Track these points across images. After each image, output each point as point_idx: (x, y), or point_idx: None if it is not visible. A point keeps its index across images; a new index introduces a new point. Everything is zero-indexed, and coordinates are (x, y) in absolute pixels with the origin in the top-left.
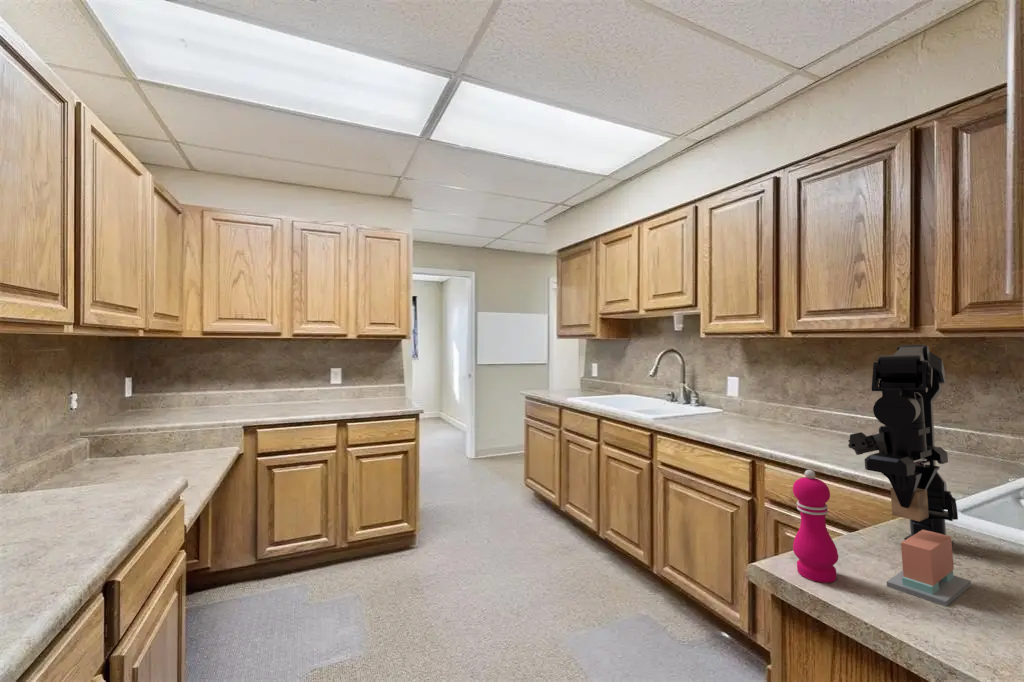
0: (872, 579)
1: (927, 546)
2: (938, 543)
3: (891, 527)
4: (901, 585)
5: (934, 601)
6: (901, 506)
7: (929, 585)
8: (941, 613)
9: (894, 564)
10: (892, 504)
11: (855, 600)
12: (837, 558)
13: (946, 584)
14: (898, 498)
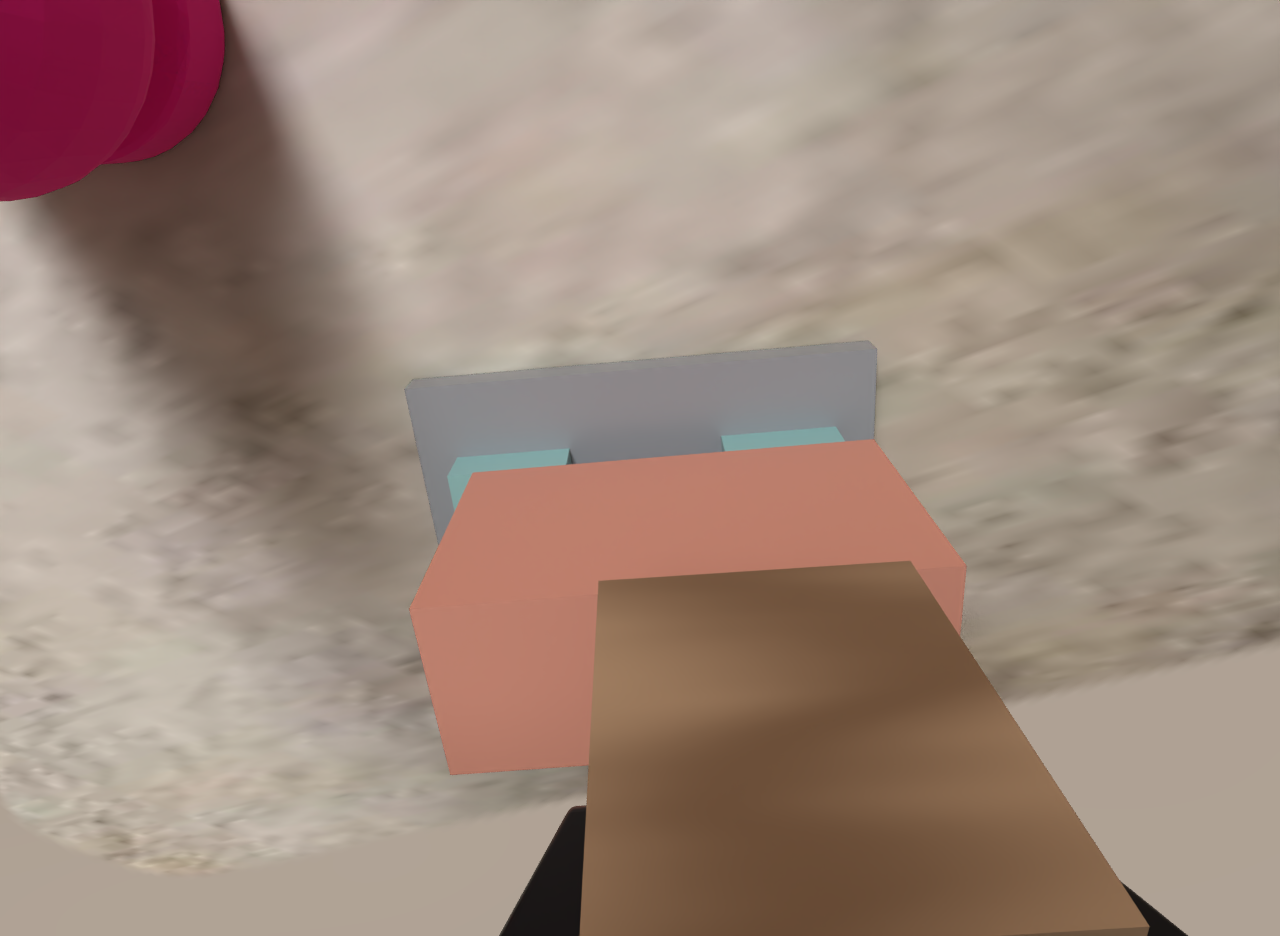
0: (423, 283)
1: (518, 739)
2: None
3: None
4: (438, 458)
5: None
6: (574, 808)
7: None
8: (372, 641)
9: (821, 242)
10: (597, 692)
11: (48, 373)
12: (37, 194)
13: None
14: (511, 924)
